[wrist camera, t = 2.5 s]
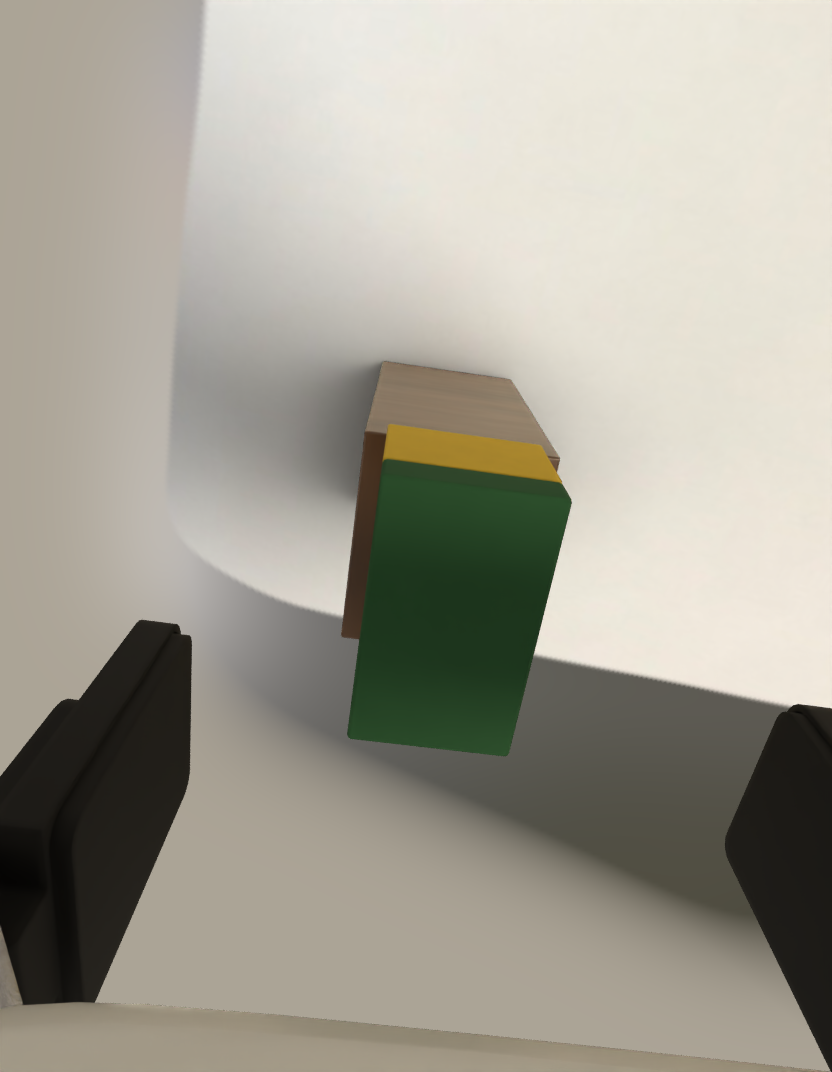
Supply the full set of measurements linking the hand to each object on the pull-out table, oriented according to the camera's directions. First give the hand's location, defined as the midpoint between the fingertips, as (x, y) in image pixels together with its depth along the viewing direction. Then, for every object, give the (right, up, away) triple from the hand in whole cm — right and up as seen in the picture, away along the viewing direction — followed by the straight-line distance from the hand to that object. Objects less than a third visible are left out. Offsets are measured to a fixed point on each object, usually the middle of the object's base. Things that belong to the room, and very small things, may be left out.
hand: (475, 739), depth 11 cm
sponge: (0, +3, +6) cm, 6 cm away
